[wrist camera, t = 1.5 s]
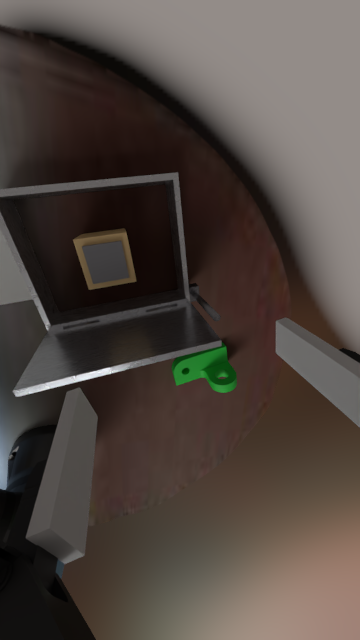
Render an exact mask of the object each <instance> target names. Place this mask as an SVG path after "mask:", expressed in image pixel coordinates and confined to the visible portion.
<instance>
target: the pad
mask: <svg viewBox="0 0 360 640" xmlns="http://www.w3.org/2000/svg"><path fill="white" fill-rule="evenodd" d="M32 299H33V298H32V296H31V294H30V292H29V290H28V287H27V285H26V283H25V281H24V279H23V276H22V274H21V272H20V270H19V268H18V266H17V263H16V261H15V259H14V257H13V255H12V253H11V250H10V248H9V246H8V244H7V242H6V239H5V237H4V235H3V233H2V231H1V229H0V305H4V304H10V303H15V302H21V301H26V300H32Z"/></svg>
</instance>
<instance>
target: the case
mask: <svg viewBox="0 0 360 640" xmlns="http://www.w3.org/2000/svg"><path fill="white" fill-rule="evenodd" d="M163 184H165V185H166V193H167V201H168V210H169V218H170V227H171V235H172V244H173V252H174V261H175V269H176V278H177V286H178V289H176V290H171V291H166V292H161V293H155V294H150V295H145V296H140V297H135V298H129V299H124V300H119V301H114V302H109V303H103V304H98V305H93V306H88V307H83V308H77V309H72V310H67V311H62V312H59V310H58V308H57V306H56V303H55V301H54V298H53V296H52V293H51V291H50V289H49V286H48V284H47V281H46V279H45V276H44V274H43V271H42V269H41V267H40V264H39V262H38V259H37V257H36V254H35V252H34V250H33V247H32V245H31V242H30V240H29V237H28V235H27V232H26V230H25V228H24V225H23V223H22V220H21V218H20V215H19V213H18V211H17V208H16V206H15V203H14V201H13V200H18V199H27V198H37V197H47V196H56V195H66V194H76V193H86V192H95V191H105V190H115V189H124V188H134V187H144V186H153V185H163ZM0 229H1V231H2V233H3V235H4V237H5V239H6V242H7V244H8V246H9V248H10V250H11V253H12V255H13V257H14V259H15V261H16V263H17V266H18V268H19V270H20V272H21V274H22V276H23V279H24V281H25V283H26V285H27V287H28V290H29V292H30V294H31V296H32V298H33V300H34V303H35V305H36V307H37V309H38V311H39V314H40V316H41V318H42V320H43V322H44V324H45V327H46V329H47V331H48V332H47V333H46V335H45V337H44V338H43V340H42V342H41V344H40V345H39V347H38V349H37V350H36V352H35V354H34V355H33V357H32V359H31V361H30V362H29V364H28V366H27V367H26V369H25V371H24V373H23V374H22V376H21V378H20V379H19V381H18V383H17V384H16V386H15V388H14V390H13V393H14V394H15V396H16V397H19V396H23V395H27V394H31V393H35V392H39V391H43V390H47V389H51V388H55V387H59V386H63V385H67V384H71V383H75V382H79V381H83V380H87V379H91V378H95V377H99V376H103V375H107V374H111V373H115V372H119V371H123V370H127V369H131V368H135V367H139V366H143V365H147V364H151V363H155V362H159V361H163V360H167V359H171V358H175V357H179V356H183V355H187V354H191V353H195V352H199V351H203V350H207V349H211V348H215V347H219V346H222V345H221V339H220V338H219V337H218V335H217V334H216V333H215V332H214V331H213V329H212V328H211V327H210V326H209V324H208V323H207V322H206V321H205V320H204V318H203V317H202V316H201V315H200V313H199V312H198V311H197V310H196V309H195V307H194V306H193V305H192V304H191V302H193V301H197V302H198V303H199V304H200V305H201V306H202V307H203V309H204V310H205V311H206V312H207V313H208V314H209V315H210V316H211V317H212V318H213V320H214V321H219V320H220V315H219V314H218V313H217V312H216V311H215V310H214V309H213V308H212V307H211V306H210V305H209V304H208V303H207V302H206V301H205V300H204V299H203V298H202V297H201V296H200V295H199V286H198V285H197V284H196V283H193V284H188V274H187V263H186V252H185V241H184V231H183V220H182V209H181V198H180V187H179V177H178V172H177V173H166V174H156V175H145V176H134V177H124V178H113V179H103V180H92V181H81V182H71V183H60V184H50V185H39V186H28V187H18V188H7V189H0Z"/></svg>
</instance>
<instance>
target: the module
mask: <svg viewBox="0 0 360 640" xmlns="http://www.w3.org/2000/svg"><path fill="white" fill-rule="evenodd" d="M73 242H74V245H75V248H76V251H77V254H78V257H79V261H80V264H81V267H82V270H83V273H84V276H85V279H86V282H87V285H88V289H89V290H92V289H98V288H103V287H109V286H114V285H120V284H125V283H131V282H136V276H135V271H134V266H133V262H132V257H131V252H130V247H129V242H128V238H127V233H126V230H125V228H122V229H115V230H107V231H100V232H92V233H85V234H82V235H80V236H78V237H77V238H75V239H73Z"/></svg>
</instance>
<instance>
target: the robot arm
mask: <svg viewBox="0 0 360 640" xmlns="http://www.w3.org/2000/svg"><path fill="white" fill-rule="evenodd" d="M276 353H277V354H278V355H279V356H280V357H281V358H282V359H283V360H284V361H286V362H287V363H288V364H289V365H290V366H292V368H293V369H295V370H296V371H297V372H298V373H299V374H300V375H302V377H304V378H305V379H306V380H307V381H308V382H309V383H310V384H311V385H313V386H314V387H315V388H316V389H317V390H318V391H319V392H320V393H322V394H323V395H324V396H325V397H326V398H327V399H329V400H330V401H331V402H332V403H333V404H334V405H335V406H336V407H337V408H339V409H340V410H341V411H342V412H343V413H344V414H345V415H346V416H348V417H349V418H350V419H351V420H352V421H353V422H354V423H355V424H357V425H358V426H359V427H360V355H359V354H357V353H356V352H353V351H350V350H347V349H344V348H342V349H340V350H338V349H336V348H334V347H333V346H331V345H330V344H328V343H326V342H325V341H323V340H322V339H320V338H318V337H317V336H315V335H314V334H312V333H310V332H309V331H307V330H305V329H304V328H302V327H301V326H299V325H297V324H296V323H294V322H293V321H291V320H289V319H288V318H283V319H280V320H277V321H276ZM97 421H98V416H97V414H96V413H95V411H94V410H93V408H92V406H91V405H90V403H89V401H88V400H87V398H86V397H85V395H84V393H83V392H82V390H81V388H80V387H79V388H76V389H73V390H70V391H67V393H66V396H65V400H64V403H63V407H62V411H61V414H60V418H59V421H58V425H48V426H42V427H38V428H35V429H32V430H30V431H28V432H26V433H25V434H23V435H22V436H20V437H19V438H18V439H17V440H16V442H15V443H14V445H13V447H12V450H11V452H10V455H9V459H8V474H7V488H6V490H2V489H0V640H96V639H95V637H94V635H93V634H92V632H91V630H90V628H89V627H88V625H87V623H86V621H85V620H84V618H83V616H82V615H81V613H80V611H79V609H78V608H77V606H76V604H75V603H74V601H73V599H72V597H71V596H70V594H69V592H68V591H67V589H66V587H65V585H64V584H63V582H62V580H61V578H62V573H63V568H64V564H66V563H68V562H70V561H73V560H75V559H78V558H80V557H82V556H84V555H85V546H86V535H87V525H88V515H89V504H90V494H91V484H92V473H93V463H94V452H95V442H96V431H97Z"/></svg>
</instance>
